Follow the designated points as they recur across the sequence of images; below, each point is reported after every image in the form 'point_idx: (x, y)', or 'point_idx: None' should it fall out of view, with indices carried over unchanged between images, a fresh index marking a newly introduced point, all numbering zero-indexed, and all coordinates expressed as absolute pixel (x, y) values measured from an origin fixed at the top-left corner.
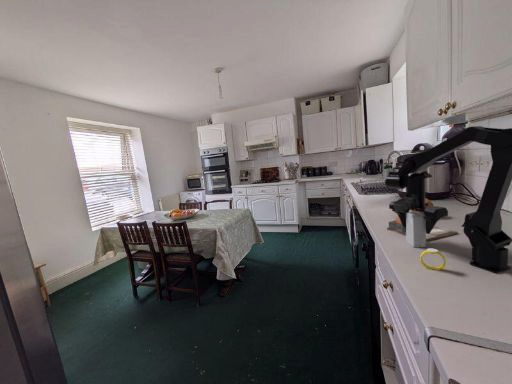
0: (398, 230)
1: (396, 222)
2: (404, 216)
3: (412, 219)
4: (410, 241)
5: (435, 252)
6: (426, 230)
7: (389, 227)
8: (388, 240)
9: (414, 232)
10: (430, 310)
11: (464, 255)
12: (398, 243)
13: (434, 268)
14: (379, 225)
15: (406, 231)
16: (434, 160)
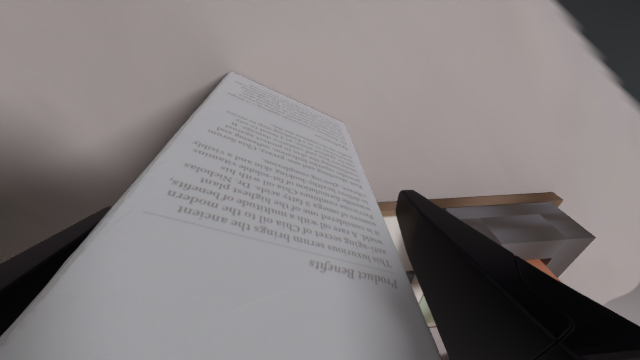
0: (478, 209)
1: (536, 261)
2: (483, 340)
3: (90, 333)
4: (278, 101)
5: None
6: (75, 231)
7: (550, 206)
8: (450, 19)
9: (182, 134)
10: None
11: (49, 208)
12: (352, 36)
13: None
14: (618, 206)
15: (360, 166)
16: None
